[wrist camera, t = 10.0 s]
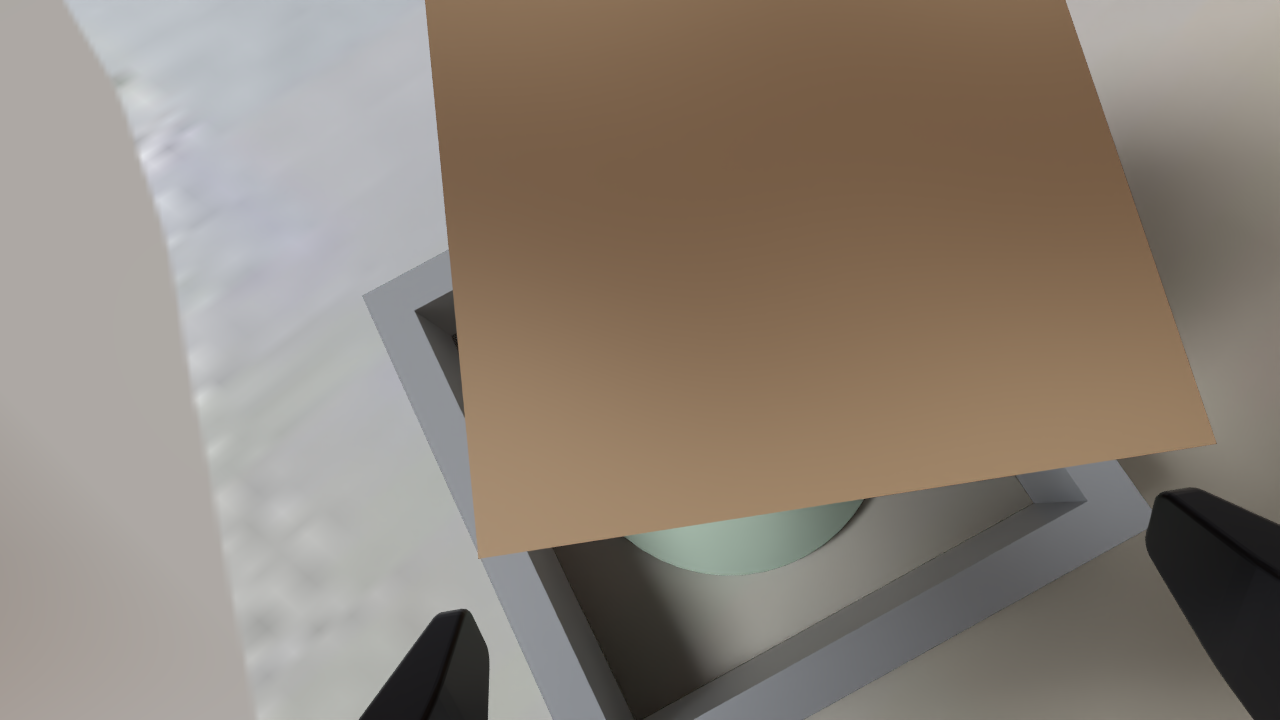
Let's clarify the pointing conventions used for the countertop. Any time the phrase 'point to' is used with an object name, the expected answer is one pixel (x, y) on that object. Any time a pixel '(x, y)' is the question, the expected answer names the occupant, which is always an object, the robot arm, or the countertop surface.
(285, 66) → the countertop surface
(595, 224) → the walnut block
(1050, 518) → the walled pen
